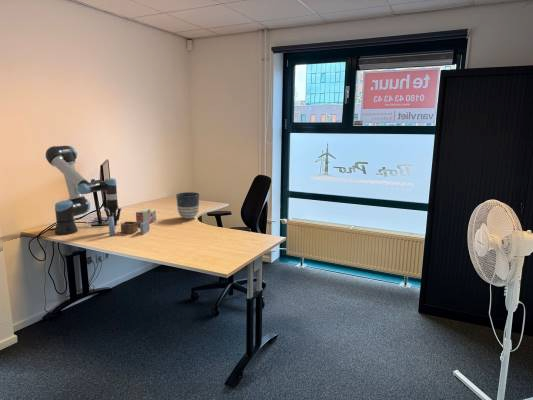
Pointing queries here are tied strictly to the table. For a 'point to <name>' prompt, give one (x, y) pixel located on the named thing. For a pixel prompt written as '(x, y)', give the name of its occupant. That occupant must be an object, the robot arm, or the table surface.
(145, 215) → the stack of blocks
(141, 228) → the wall
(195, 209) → the planter
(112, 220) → the dowel
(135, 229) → the slider block
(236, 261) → the table surface
